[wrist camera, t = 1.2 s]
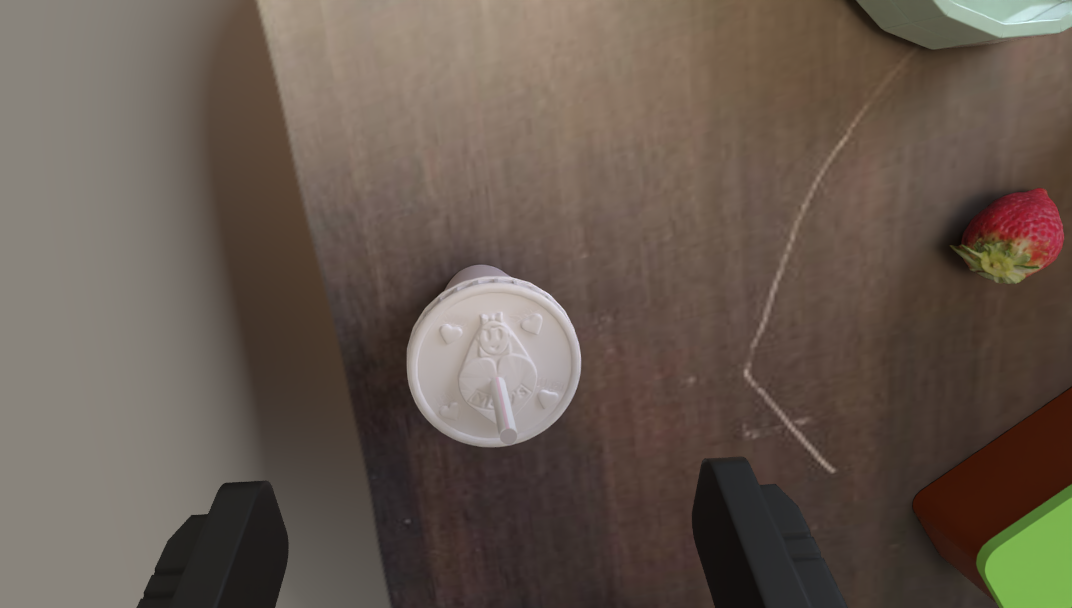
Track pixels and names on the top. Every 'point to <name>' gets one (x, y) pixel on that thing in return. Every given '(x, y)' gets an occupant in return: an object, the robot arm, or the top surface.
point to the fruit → (1013, 237)
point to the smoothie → (492, 359)
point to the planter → (1010, 512)
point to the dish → (969, 20)
